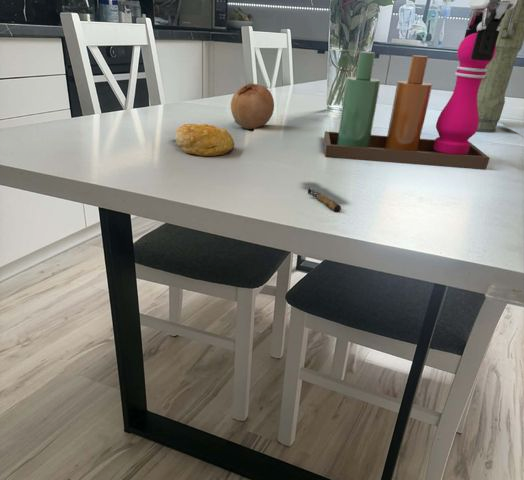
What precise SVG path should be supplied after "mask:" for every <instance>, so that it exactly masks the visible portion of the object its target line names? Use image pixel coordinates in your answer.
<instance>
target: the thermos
mask: <svg viewBox="0 0 524 480" xmlns="http://www.w3.org/2000/svg"><path fill="white" fill-rule="evenodd" d="M523 44H524V0H517V3H516V5H515V6H514V7H513V8H512V9H511V10H506V11H505V16H504V17H503V19H502V25H501V29H500V31H499V34H498V38H497V42H496V52H495V56H494V58H493V59H492V60H491V61H490V62H489V63H488V64H487V66H486V67H485V68H487V71H486V74H485V75H486V77H485V78H482V81H481V84H480V86H479V90H478V94H477V107H478V114H479V124H478V129H477V131H476V132H479V133H494V132H496V130H497V125H498V122H499V121H500V119H501V116H502V112H503V110H504V106H505V103H506V92H507V89H508V85H509V83H510V79H511V76H512V73H513V69H514V66H515V63H516V60H517V57H518V54H519V52H520V51H521V50H522V47H523Z"/></svg>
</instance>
